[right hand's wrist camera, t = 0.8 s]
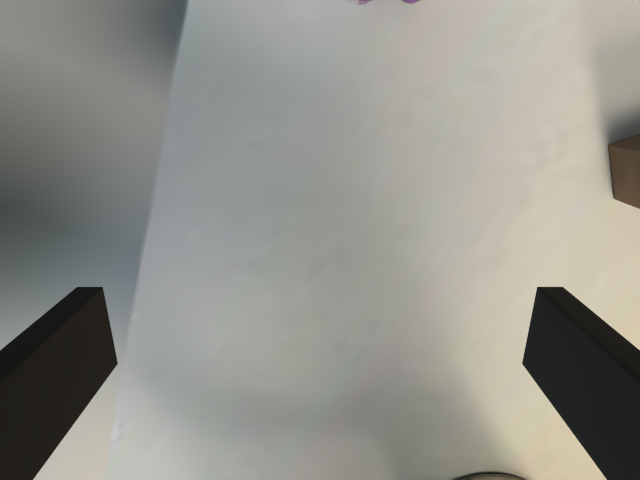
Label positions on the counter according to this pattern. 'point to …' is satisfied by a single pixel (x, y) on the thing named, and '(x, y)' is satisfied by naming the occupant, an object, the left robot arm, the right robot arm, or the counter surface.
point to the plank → (626, 170)
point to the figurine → (363, 0)
